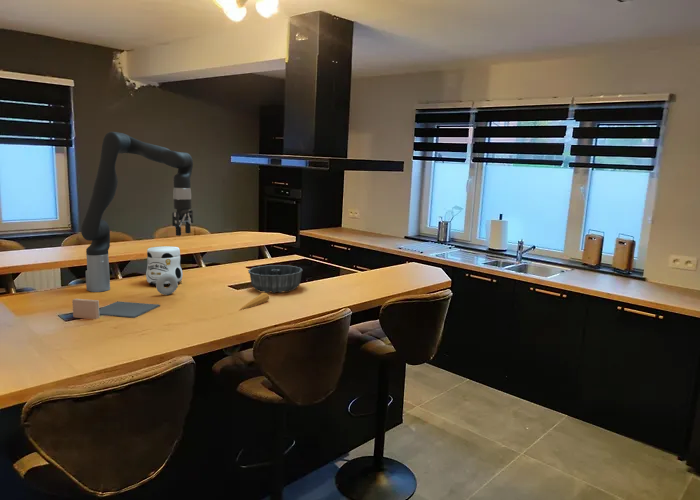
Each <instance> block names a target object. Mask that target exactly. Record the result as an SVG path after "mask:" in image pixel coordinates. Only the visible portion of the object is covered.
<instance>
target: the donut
mask: <svg viewBox="0 0 700 500" xmlns="http://www.w3.org/2000/svg"><path fill="white" fill-rule="evenodd" d="M166 281H169V282H170V285H168V287H165V285H164V283H165V282H166ZM155 286H156V287H155V288H156V290H157V292H158V293H159V294H161V295H163V296H169V295H171V294H172V295H173V293H175V292H176V291H177V289H178V286H179V283H178V281H177V278H176V277H175V276H174V275H172V274H163V275H162V276H160V277H159V278H158V280H157V282H156V285H155Z"/></svg>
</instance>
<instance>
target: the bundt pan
mask: <svg viewBox="0 0 700 500" xmlns="http://www.w3.org/2000/svg"><path fill="white" fill-rule="evenodd" d="M247 271H248V274H249V278H250V283H251V286H252V287H253V288H254V289H255V290H257V291H258V292H259V293H267V294H268V293H272V294H275V293H289V292H290V291H293V290H296V289H298V287H299V286H300V284H301V281H302V280H301V279H302V273H303V268H301V267H300V266H299V267H298V266H296V265H295V266H293V265H289V264H287V265H285V264H284V265H283V264H282V265H281V264H275V265H274V264H269V265H263V266H262V265H260V266H256V267H251V268H250V269H248V270H247Z"/></svg>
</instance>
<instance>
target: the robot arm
mask: <svg viewBox="0 0 700 500" xmlns="http://www.w3.org/2000/svg"><path fill="white" fill-rule="evenodd" d="M119 154H132V155H137V156H141V157H143V158H145V159H147V160H148V161H149V160H150V161H153V162H156V163H159V164H164V165H165V166H169V167H171V168H174V169H177V174H174V176H173V193H172V195H173V209H175V210H176V212H175V211H173V212H172V214H171V216H172V218H171V219H172V220H171V221H172V223H171V224H172V227H175V236H177V237H180V236H182V224H185V225H184V228H185V232H184V233H185V234H191V231H192V230H191V225H192V224H193V223H194V212H193V211H194V210H192V190H191V175H192V173H193V172H192V171H193V167H194V166H193V165H194V160H193V158H192V156H191V154H190V153H188V152H183V151H181V152H180V151H175V150H170V148H167V147H164V146H160V145H156V144H152V143H149V142H144V141H142V140H139V139H137V138H134V137H132V136H130V135H129V134H126V133H123V132H118V131H109V132H107V133H106V134H105V135H104V136H103V140H102V144H101V152H100V158H99V164H98V168H97V173H96V176H95V180H94V185H93V188H92V194H91V197H90V201H89V205H88V208H87V209H86V210H87V211H86V213H85V216H84V219H83V220H82V224H81V228H80V232H81V236H82V238H83V239H84V240H86V241H91V243H90V245H89V246H87V248H86V250H85V253H86V254H85V255H86V256H85V257H86V269H87V270H85V285H86V286H85V287H86V291H89V292H91V293H100V292H106V291H109V290H111V280H110V279H111V278H110V276H111V275H110V264H109V263H110V259H109V250H110V246H111V245H110V244H111V234H110V232H111V231H110V226H109V224H108V222H107V221H106V220H104V219H103V218H102V217H103V215H104V213H105V211H106V210H107V208H108V207H109V205H110V204H111V203H112V201H113V199H114V198H115V196H116V193H117V192H116V191H117V188H118V183H119V182H118V176H117V170H116V163H117V160H118V159H117V158H118V155H119Z"/></svg>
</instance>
